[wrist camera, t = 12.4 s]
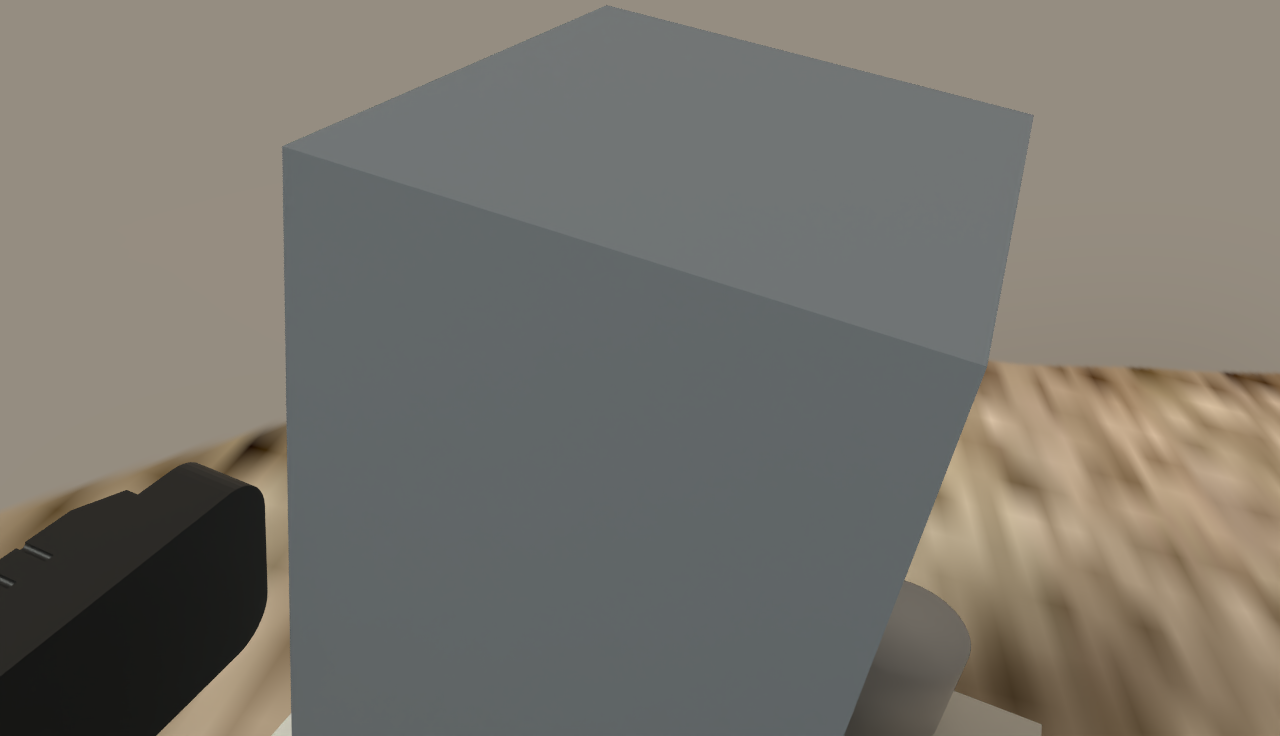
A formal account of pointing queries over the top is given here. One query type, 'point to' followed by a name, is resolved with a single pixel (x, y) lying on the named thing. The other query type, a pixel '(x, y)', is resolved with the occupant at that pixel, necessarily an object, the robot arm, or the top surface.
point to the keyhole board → (916, 679)
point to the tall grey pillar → (627, 382)
